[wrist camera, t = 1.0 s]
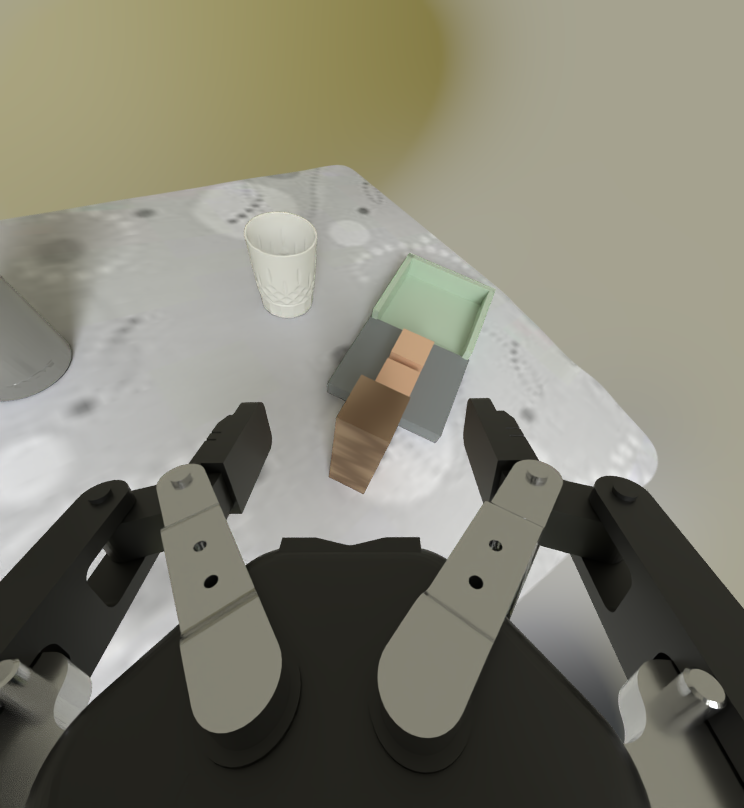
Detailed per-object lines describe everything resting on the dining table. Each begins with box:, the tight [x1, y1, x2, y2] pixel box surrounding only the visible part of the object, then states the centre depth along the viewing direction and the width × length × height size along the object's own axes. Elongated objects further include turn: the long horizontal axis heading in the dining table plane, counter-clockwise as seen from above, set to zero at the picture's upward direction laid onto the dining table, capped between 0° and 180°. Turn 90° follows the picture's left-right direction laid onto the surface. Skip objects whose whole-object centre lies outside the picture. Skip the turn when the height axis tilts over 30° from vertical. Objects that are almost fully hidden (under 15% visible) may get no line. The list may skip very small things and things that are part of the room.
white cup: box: [244, 212, 317, 318], centre depth 41 cm, size 8×8×10 cm
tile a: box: [375, 358, 420, 396], centre depth 37 cm, size 4×4×3 cm
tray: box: [372, 253, 496, 360], centre depth 46 cm, size 14×13×4 cm
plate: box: [327, 316, 469, 443], centre depth 41 cm, size 14×12×2 cm
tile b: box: [389, 329, 434, 372], centre depth 40 cm, size 4×4×3 cm
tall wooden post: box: [329, 375, 411, 494], centre depth 29 cm, size 4×4×14 cm
